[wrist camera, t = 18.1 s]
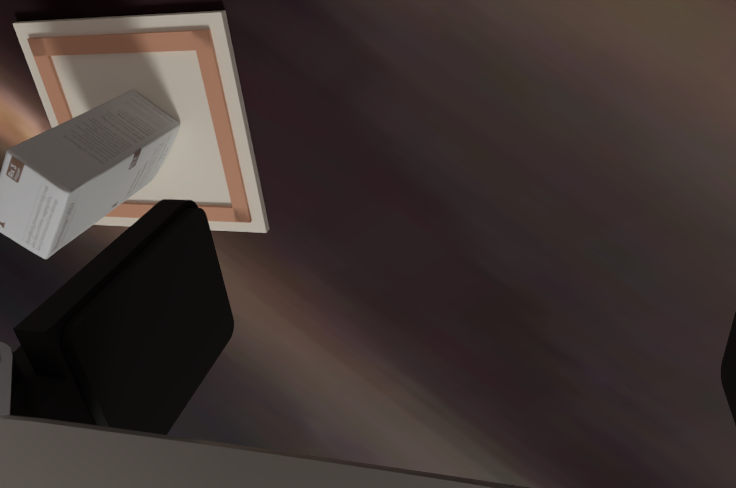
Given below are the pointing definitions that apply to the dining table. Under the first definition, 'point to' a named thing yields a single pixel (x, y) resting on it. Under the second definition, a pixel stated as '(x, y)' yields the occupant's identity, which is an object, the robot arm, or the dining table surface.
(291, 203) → the dining table surface
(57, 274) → the dining table surface
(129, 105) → the skincare box
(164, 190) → the white square board
